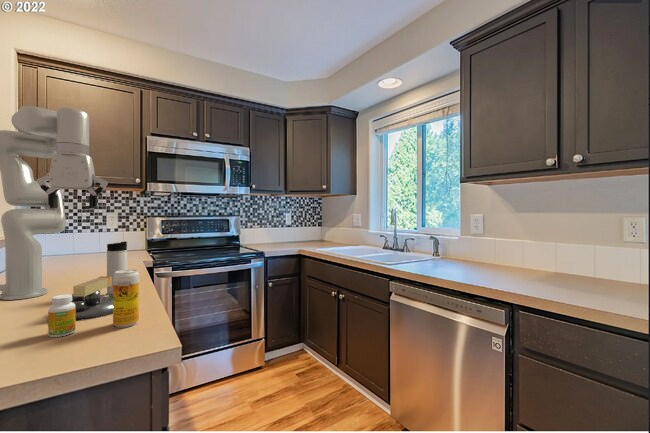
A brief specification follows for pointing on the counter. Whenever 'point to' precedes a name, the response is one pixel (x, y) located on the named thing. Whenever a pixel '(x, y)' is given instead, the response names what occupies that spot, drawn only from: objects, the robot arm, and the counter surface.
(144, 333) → the counter surface
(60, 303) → the supplement bottle
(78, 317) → the base
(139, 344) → the counter surface
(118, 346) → the counter surface
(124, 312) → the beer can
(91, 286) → the orange-tipped wooden plank
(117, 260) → the travel mug
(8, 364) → the counter surface
